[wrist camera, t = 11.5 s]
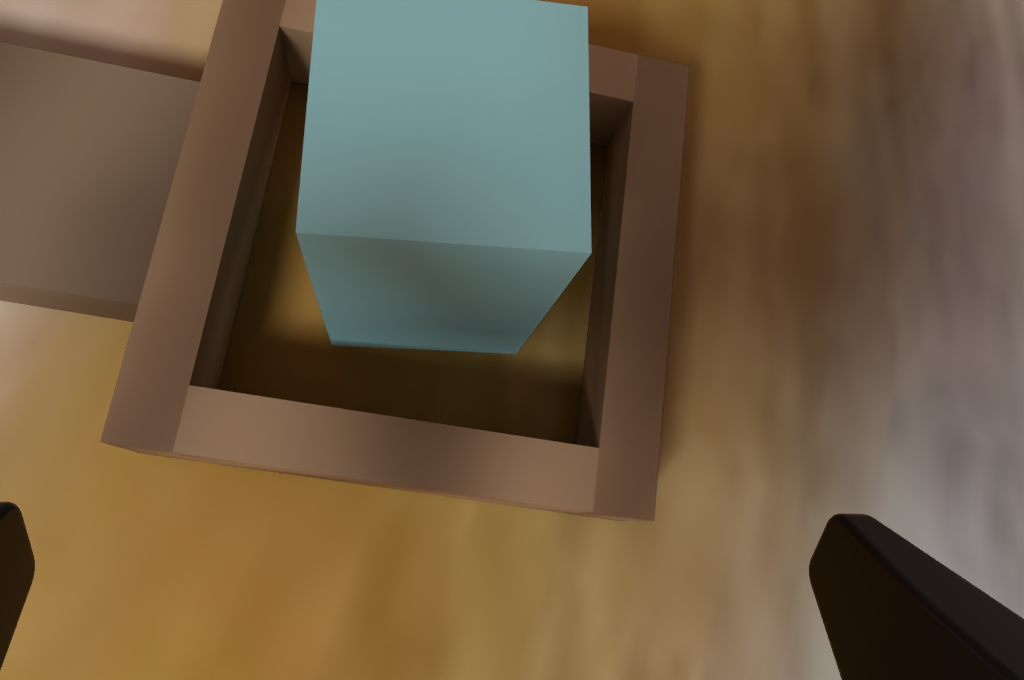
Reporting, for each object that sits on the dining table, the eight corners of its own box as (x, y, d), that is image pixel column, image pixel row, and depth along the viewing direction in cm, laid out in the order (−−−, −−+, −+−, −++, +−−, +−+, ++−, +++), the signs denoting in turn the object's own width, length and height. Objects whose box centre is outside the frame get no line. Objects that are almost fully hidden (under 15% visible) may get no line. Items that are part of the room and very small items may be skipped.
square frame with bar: (-509, 361, 17) (-662, 333, 14) (-282, -87, 20) (-374, -171, 17) (622, 520, 20) (654, 520, 17) (658, 113, 23) (689, 65, 21)
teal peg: (515, 354, 20) (591, 252, 13) (331, 345, 20) (295, 232, 12) (517, 189, 22) (588, 7, 14) (344, 174, 21) (318, -27, 13)
